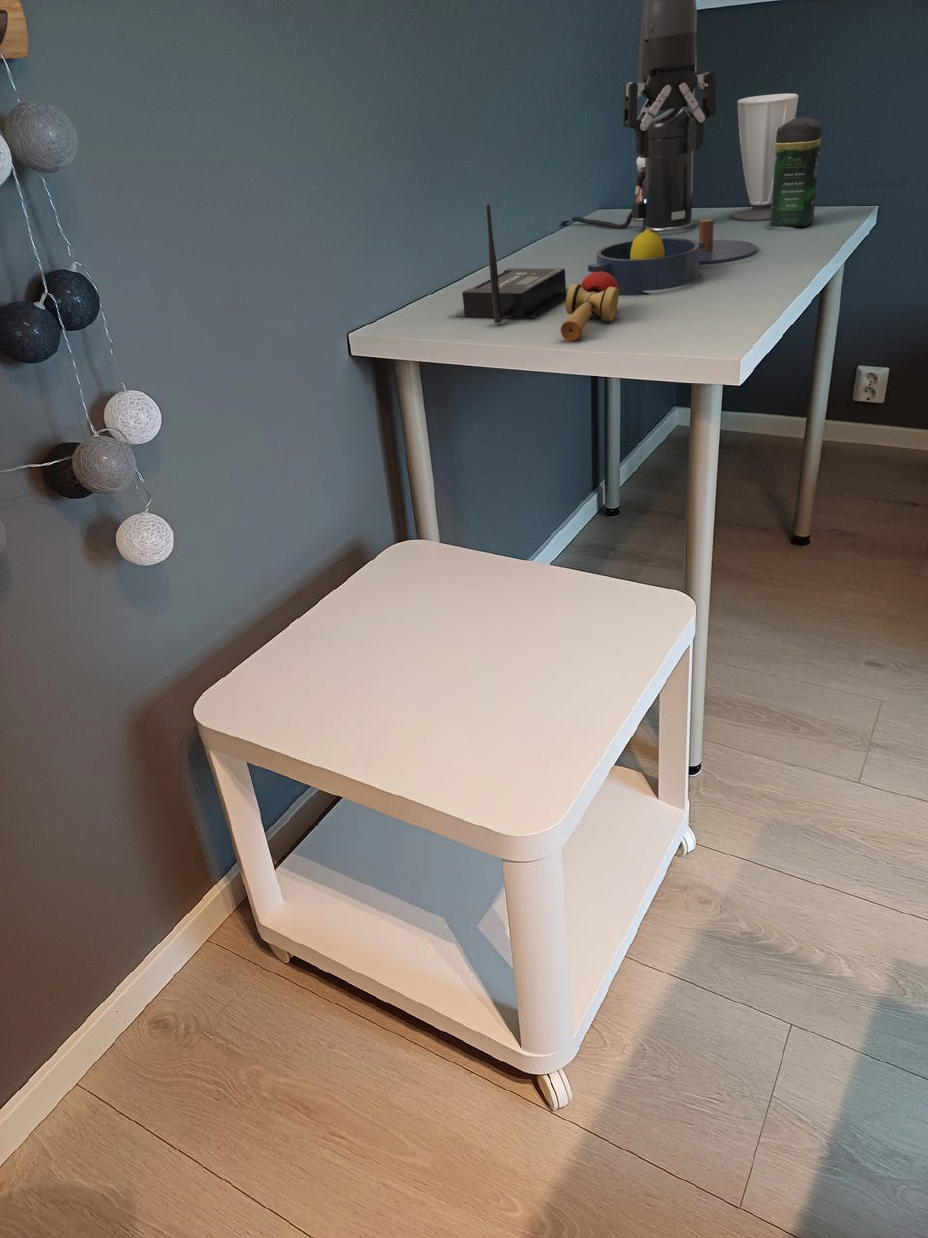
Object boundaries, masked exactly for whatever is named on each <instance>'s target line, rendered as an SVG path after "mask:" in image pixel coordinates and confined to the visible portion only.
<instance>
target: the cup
mask: <svg viewBox="0 0 928 1238" xmlns="http://www.w3.org/2000/svg"><path fill="white" fill-rule="evenodd" d="M798 103H799V94H797V93H775V94H774V93H773V94H765V95H764V94H763V95H756V96H755V95H754V96H747V97H744V98H740V99H738V100H737V119H738V120H737V121H738V133H739V134H738V137H739V146H740V153H741V163H742V169H743V176H744V182H745V188H746V192H747V196H748V201H749V204H750V206H751V209H748V210H742V211H739V212H736V213H734V214H733V215H732V218H733V219H735V220H739V221H766V220H767V221H768V220H771V207H772V195H773V180H774V166H775V150H776V136H777V130H778V128H779V127H781V126H782V125H784V124H786V123H788V122H790V121H791V120H792V119H795V118H796V114H797V107H798Z"/></svg>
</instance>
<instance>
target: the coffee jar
mask: <svg viewBox="0 0 928 1238" xmlns="http://www.w3.org/2000/svg"><path fill="white" fill-rule="evenodd" d="M822 126H823V125H822V123H821V121H819V120H817V119H815V117H811V116H810V117H809V116H808V117H807V116H806V117H805V116H803V117H795V119H792V120H791V121H790V122H788V123H786V124H784V125H782V126H781V127H779V128H778V130H777V136H776V150H775V166H774V180H773V195H772V206H770V207H771V219H769V220H770V221H769V222H770V223H769V224H770V226H772V227H784V228H791V229H795V228H797V227H806V226H809V225H810V224H811V223H812V222H813V220H814V218H815V217H814V216H815V206H816V197H817V196H816V194H817V185H818V174H819V166H820V165H819V164H820V154H821V153H820V152H821V144H822V143H821V142H822Z"/></svg>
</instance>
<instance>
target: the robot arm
mask: <svg viewBox="0 0 928 1238" xmlns="http://www.w3.org/2000/svg"><path fill="white" fill-rule="evenodd" d="M697 9H698V8H697V0H641V13H640V14H641V15H640V27H639V38H638V49H637V65H636V82H634V81H629V82H626V83H624V86H623V108H622V109H623V112H622V113H623V114H622V125H623V127H625V128H629V129H632V130H634V132H635V152H636V154H637V155H638V157H640V158H645V179H644V180H643V201H639V202H636V201H635V202H632V203H631V211H630V212H629V214H628V216H627V217H626V221H625V222H624V223H622V224H619V223H614V222H611V221H603V220H599V219H590V218H584V217H580V216H572V217H573V218H572V220H573V221H572V222H577V223H583V224H587V225H596V226H601V227H607V228H612V229H616V230H617V229H619V230H621V229H625V228H628V227H629V226H630V224H631V223H632V222H631V221H632V219H640V218H643V220H642V230H644V231H645V230H646V229H649V230H650V231H651V232H654V233H656V234H657V233H668V232H676V231H682V230H687V229H690V228H691V227H692V226H693V180H694V179H693V178H694V177H693V174H694V151H699V150H700V149H701V146H703V143H704V126H705V125H704V123H705V121H706V120H708V119H710V118H711V117H714V116H715V115H716V114H717V86H716V85H717V84H716V83H717V82H716V73H715V72H714V71H704V72H702V73H701V74H697V59H698V57H697V56H698V55H697V27H698V20H697V19H698V18H697V17H698V12H697V11H698V10H697ZM696 86H698V89H699V90H700V95H701V96H700V97H701V99H700V101H701V107H700V104H699V102H698V101H697V98H695V93H696ZM640 97H641V98H643V99H646V101H645V102H644V104H643V105H642V108H641V110H640V113H639V115H638V99H640ZM659 112H663V113H662V114H660V115H658V113H659ZM657 115H658V116H657ZM561 222H562V226H561V227H564V226H565V225H566V224H568V223H571V221H563V220H562V221H561Z"/></svg>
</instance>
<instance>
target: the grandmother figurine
mask: <svg viewBox="0 0 928 1238" xmlns="http://www.w3.org/2000/svg"><path fill="white" fill-rule="evenodd" d="M635 162H636V166H637V168H636V169H637V171H638V172H639V173H640V174H639V176H637V180H636V183H635V191H634V195H635V196H636V201H635V202H639V201H643V180H644V179H645V158H640V157H639V156H638V157H637V158H636V161H635ZM635 219H636V221H643V218H640V219H637V218H635Z"/></svg>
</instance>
